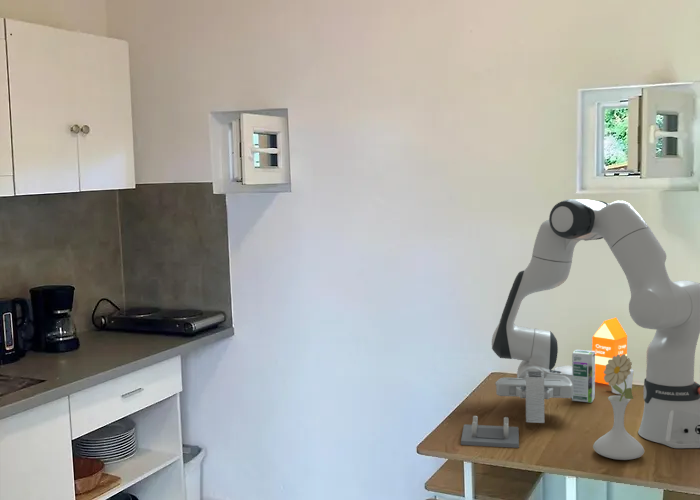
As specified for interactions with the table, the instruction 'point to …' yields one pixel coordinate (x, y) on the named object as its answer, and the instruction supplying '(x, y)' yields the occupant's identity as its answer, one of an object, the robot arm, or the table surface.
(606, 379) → the flower in vase
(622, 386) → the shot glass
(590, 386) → the syrup box
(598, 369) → the orange juice
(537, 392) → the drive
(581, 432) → the table surface
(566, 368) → the ramekin
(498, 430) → the stand
